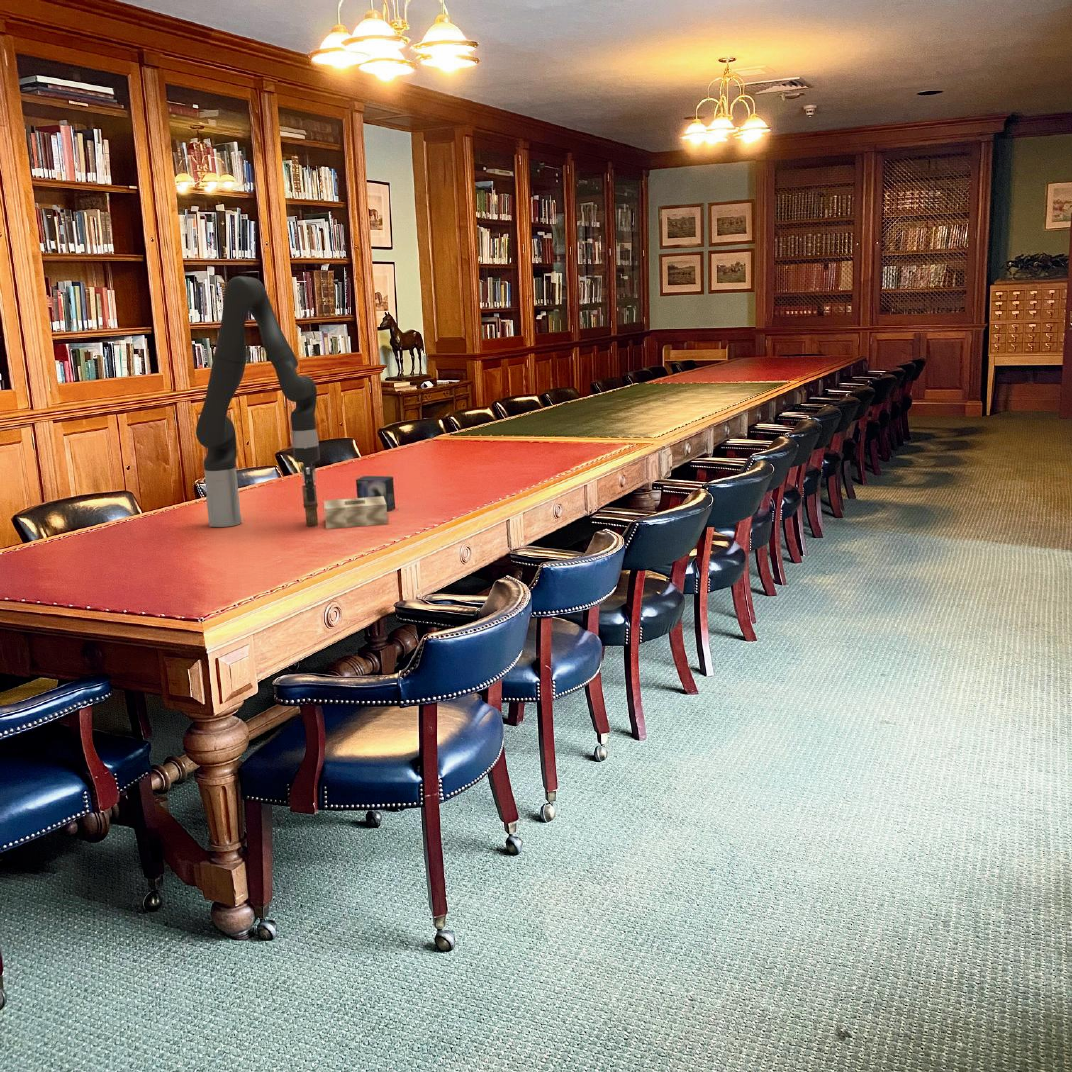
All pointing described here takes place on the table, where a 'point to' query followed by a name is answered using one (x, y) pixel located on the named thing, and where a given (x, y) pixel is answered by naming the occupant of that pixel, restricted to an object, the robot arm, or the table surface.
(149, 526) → the table surface
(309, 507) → the peg
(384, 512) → the seat board
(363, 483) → the small box
